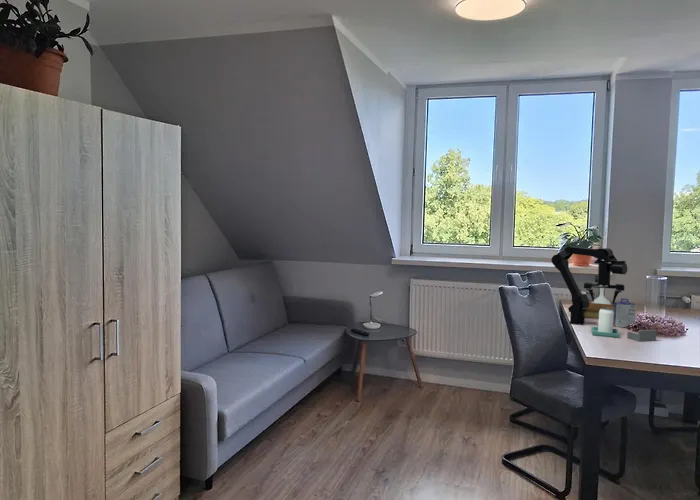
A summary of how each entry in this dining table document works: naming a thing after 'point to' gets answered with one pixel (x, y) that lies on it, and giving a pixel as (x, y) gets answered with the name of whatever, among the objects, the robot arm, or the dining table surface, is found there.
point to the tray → (605, 333)
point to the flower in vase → (602, 297)
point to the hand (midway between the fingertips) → (603, 302)
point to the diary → (596, 310)
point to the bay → (643, 335)
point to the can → (605, 320)
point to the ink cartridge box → (624, 313)
